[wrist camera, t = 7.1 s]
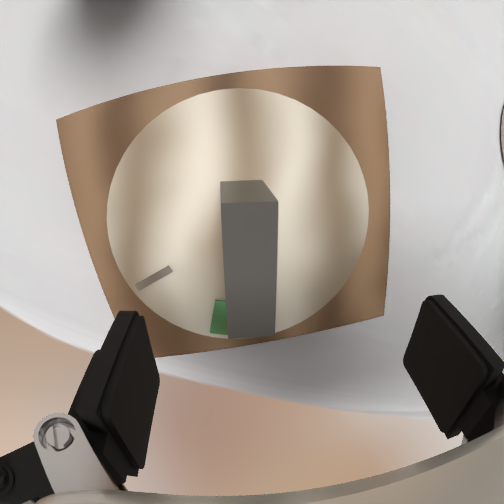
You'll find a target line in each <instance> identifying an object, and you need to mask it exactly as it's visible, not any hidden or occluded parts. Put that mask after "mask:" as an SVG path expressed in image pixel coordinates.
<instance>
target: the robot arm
mask: <svg viewBox="0 0 504 504" xmlns="http://www.w3.org/2000/svg"><path fill="white" fill-rule="evenodd" d="M501 143H502V152H503V158H504V110H503V115H502V124H501ZM403 363H404V366H405V368H406V370H407V372H408V373H409V375H410V377H411V379H412V380H413V382H414V384H415V385H416V387H417V389H418V391H419V393H420V394H421V396H422V398H423V400H424V401H425V403H426V405H427V407H428V409H429V411H430V412H431V414H432V416H433V418H434V420H435V422H436V423H437V425H438V427H439V429H440V431H441V432H444V433H445V435H446V437H447V439H449V438H451V437H454V436H456V435H459V434H460V432H461V431H462V432H463V434H464V435H463V440H462V444H461V446H459V447H456V448H454V449H452V450H450V451H447V452H445V453H442V454H440V455H437V456H435V457H432V458H429V459H427V460H424V461H421V462H418V463H415V464H413V465H409V466H407V467H403V468H400V469H397V470H394V471H390V472H387V473H384V474H380V475H376V476H372V477H368V478H364V479H360V480H357V481H352V482H348V483H343V484H337V485H332V486H327V487H321V488H315V489H309V490H302V491H294V492H286V493H276V494H266V495H265V494H264V495H249V496H185V495H183V496H182V495H168V494H157V493H144V492H132V491H128V490H127V489H126V487H125V486H124V484H123V483H125V482H126V477H127V475H129V476H136V477H137V476H138V470H139V469H143V468H144V465H145V460H146V453H147V447H148V441H149V436H150V431H151V425H152V420H153V414H154V409H155V404H156V398H157V394H158V389H159V383H160V380H159V379H160V378H159V373H158V369H157V366H156V362H155V358H154V355H153V351H152V347H151V343H150V339H149V335H148V331H147V326H146V322H145V318H144V316H140V315H139V313H138V312H137V311H119V312H118V314H117V316H116V318H115V320H114V322H113V324H112V326H111V328H110V330H109V332H108V334H107V337H106V339H105V341H104V343H103V345H102V347H101V350H97V351H96V352H95V353H94V355H93V357H92V359H91V361H90V364H89V366H88V368H87V370H86V372H85V375H84V377H83V379H82V381H81V384H80V386H79V388H78V391H77V393H76V395H75V398H74V400H73V403H72V405H71V408H70V410H69V413H68V414H65V413H54V414H50V415H48V416H46V417H44V418H43V419H42V420H41V421H40V422H39V423H38V424H37V426H36V428H35V430H34V436H33V437H34V442H32V443H30V444H27V445H25V446H23V447H21V448H19V449H17V450H15V451H13V452H11V453H9V454H6V455H4V456H2V457H0V504H504V374H503V373H502V371H503V369H504V362H503V361H502V359H501V358H500V357H499V356H498V355H497V353H496V352H495V351H494V350H493V349H492V348H491V346H490V345H489V344H488V343H487V342H486V341H485V340H484V338H483V337H482V336H481V335H480V334H479V333H478V332H477V331H476V329H475V328H474V327H473V326H472V325H471V324H470V323H469V322H468V321H467V320H466V318H465V317H464V316H463V315H462V314H461V313H460V312H459V311H458V310H457V309H456V308H455V307H454V306H453V305H452V304H451V303H450V302H449V301H448V299H447V298H446V297H445V296H443V295H433V296H428V297H427V298H426V300H425V301H423V303H422V305H421V308H420V312H419V315H418V318H417V321H416V324H415V327H414V330H413V333H412V336H411V338H410V341H409V344H408V347H407V349H406V352H405V355H404V358H403Z"/></svg>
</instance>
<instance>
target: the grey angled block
mask: <svg viewBox="0 0 504 504" xmlns="http://www.w3.org/2000/svg"><path fill="white" fill-rule="evenodd" d="M220 201H221V225H222V246H223V264H224V282H225V298H226V313H227V328H228V339H236V338H251V337H265V336H275V320H276V290H277V254H278V200H277V199H276V197H275V196H274V195H273V193H272V192H271V191H270V189H269V188H268V187H267V185H266V184H265V183H264V181H263V180H242V181H220Z"/></svg>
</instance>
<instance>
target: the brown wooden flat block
mask: <svg viewBox="0 0 504 504" xmlns="http://www.w3.org/2000/svg"><path fill="white" fill-rule="evenodd" d="M56 122H57V128H58V133H59V139H60V144H61V149H62V154H63V159H64V163H65V168H66V172H67V177H68V181H69V185H70V189H71V193H72V197H73V200H74V204H75V208H76V211H77V215H78V218H79V221H80V225H81V228H82V231H83V235H84V238H85V241H86V244H87V247H88V250H89V253H90V256H91V259H92V262H93V264H94V267H95V270H96V273H97V275H98V278H99V281H100V283H101V286H102V289H103V291H104V294H105V296H106V299H107V301H108V304H109V306H110V309H111V311H112V313H113V316H114V318H116V316H117V314H118V312H119V311H137V312H138V313H139V315H140V316H144V318H145V322H146V326H147V331H148V335H149V339H150V343H151V347H152V351H153V355H154V358H156V357H165V356H174V355H183V354H191V353H198V352H206V351H213V350H220V349H226V348H233V347H239V346H245V345H251V344H257V343H263V342H268V341H274V340H279V339H284V338H289V337H294V336H299V335H304V334H309V333H313V332H318V331H322V330H327V329H331V328H336V327H340V326H344V325H348V324H352V323H356V322H360V321H364V320H368V319H372V318H376V317H380V316H383V315H384V307H385V297H386V286H387V274H388V258H389V236H390V170H389V148H388V133H387V121H386V110H385V101H384V92H383V84H382V77H381V70H380V67H367V66H305V67H287V68H273V69H263V70H253V71H244V72H237V73H229V74H223V75H216V76H210V77H204V78H199V79H194V80H188V81H184V82H179V83H174V84H170V85H165V86H161V87H157V88H153V89H149V90H145V91H141V92H137V93H134V94H130V95H127V96H123V97H120V98H117V99H113V100H110V101H107V102H104V103H101V104H98V105H95V106H92V107H89V108H86V109H83V110H81V111H78V112H75V113H72V114H70V115H67V116H65V117H62V118H60V119H57V120H56ZM242 180H263V181H264V183H265V184H266V185H267V187H268V188H269V189H270V191H271V192H272V193H273V195H274V196H275V197H276V199H277V200H278V254H277V290H276V320H275V336H265V337H251V338H236V339H228V328H227V313H226V298H225V282H224V264H223V246H222V225H221V201H220V181H242Z"/></svg>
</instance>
